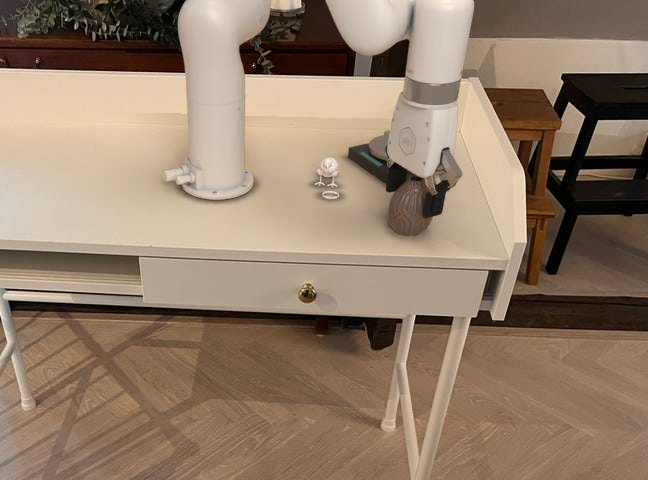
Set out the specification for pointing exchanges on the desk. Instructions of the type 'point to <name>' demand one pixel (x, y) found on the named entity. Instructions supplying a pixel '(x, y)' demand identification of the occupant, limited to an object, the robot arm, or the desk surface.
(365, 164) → the scale
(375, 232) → the desk surface
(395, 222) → the vase
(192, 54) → the robot arm
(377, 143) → the scale pan
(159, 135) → the desk surface
